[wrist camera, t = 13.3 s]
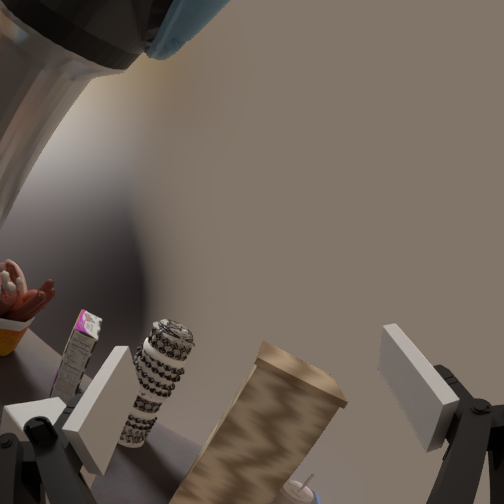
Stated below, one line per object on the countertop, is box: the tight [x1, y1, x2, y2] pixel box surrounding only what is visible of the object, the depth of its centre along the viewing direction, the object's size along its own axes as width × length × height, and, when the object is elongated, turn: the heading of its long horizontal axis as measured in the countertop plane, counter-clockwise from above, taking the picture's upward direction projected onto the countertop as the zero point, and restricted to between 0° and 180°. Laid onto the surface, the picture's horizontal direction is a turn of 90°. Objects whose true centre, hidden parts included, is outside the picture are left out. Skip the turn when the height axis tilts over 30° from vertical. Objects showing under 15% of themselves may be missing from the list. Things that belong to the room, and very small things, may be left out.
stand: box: [169, 341, 348, 504], centre depth 44 cm, size 13×15×30 cm
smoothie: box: [271, 474, 314, 504], centre depth 44 cm, size 6×6×14 cm
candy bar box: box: [50, 310, 102, 405], centre depth 53 cm, size 11×5×16 cm, turn 25°
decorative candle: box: [117, 319, 196, 448], centre depth 52 cm, size 9×9×25 cm
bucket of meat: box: [0, 260, 55, 357], centre depth 48 cm, size 20×16×20 cm
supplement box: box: [0, 397, 96, 504], centre depth 24 cm, size 9×9×15 cm
